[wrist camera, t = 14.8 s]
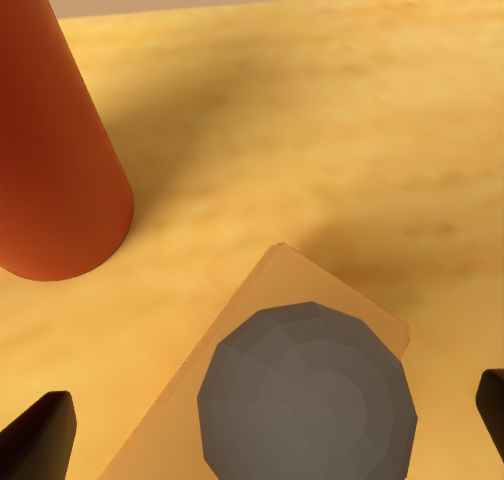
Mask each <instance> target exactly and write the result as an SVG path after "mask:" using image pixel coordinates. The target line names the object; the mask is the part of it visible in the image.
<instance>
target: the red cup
mask: <svg viewBox="0 0 504 480" xmlns="http://www.w3.org/2000/svg"><path fill="white" fill-rule="evenodd" d="M133 207H134V203H133V195H132V191H131V188H130V185H129V183H128V181H127V179H126V176H125V174H124V172H123V169H122V167H121V165H120V163H119V160H118V158H117V156H116V153H115V151H114V149H113V147H112V144H111V142H110V140H109V138H108V135H107V133H106V131H105V128H104V126H103V124H102V122H101V119H100V117H99V115H98V112H97V110H96V108H95V106H94V103H93V101H92V99H91V97H90V94H89V92H88V90H87V87H86V85H85V83H84V81H83V78H82V76H81V74H80V71H79V69H78V67H77V65H76V62H75V60H74V58H73V56H72V53H71V51H70V49H69V46H68V44H67V42H66V40H65V37H64V35H63V33H62V30H61V28H60V26H59V24H58V21H57V19H56V17H55V15H54V12H53V10H52V8H51V5H50V3H49V1H48V0H0V266H1V267H2V268H4V269H6V270H7V271H9V272H11V273H13V274H15V275H17V276H20V277H23V278H25V279H30V280H35V281H58V280H64V279H69V278H72V277H76V276H79V275H81V274H83V273H86V272H88V271H90V270H92V269H93V268H95V267H97V266H98V265H100V264H101V263H102V262H104V261H105V260H106V259H107V258H109V257H110V256H111V255H112V254H113V253H114V252H115V250H116V249H117V248H118V247H119V246H120V244H121V243H122V241H123V240H124V238H125V236H126V234H127V232H128V230H129V227H130V224H131V221H132V217H133Z"/></svg>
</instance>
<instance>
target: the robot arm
mask: <svg viewBox="0 0 504 480" xmlns="http://www.w3.org/2000/svg"><path fill="white" fill-rule="evenodd" d="M476 406H477V409H478V411H479V413H480V415H481V417H482V419H483V421H484V423H485V426H486V428H487V430H488V432H489V434H490V436H491V438H492V440H493V442H494V444H495V446H496V448H497V450H498V452H499V454H500V457H501V459H502V461H503V463H504V369H501V368H500V369H487V370H485V371H484V372H483V374H482V377H481V380H480V383H479V387H478V390H477V393H476ZM76 428H77V420H76V415H75V410H74V406H73V401H72V396H71V394H70V392H68V391H51V392H48V393H46V394H45V395H43V396H42V397H41V398H40V399H39V400H38V401H36V402H35V403H34V404H33V405H32V406H30V407H29V408H28V409H27V410H26V411H25V412H23V413H22V414H21V415H20V416H19V417H17V418H16V419H15V420H14V421H13V422H11V423H10V424H9V425H8V426H7V427H6V428H4V429H3V430H2V431H1V432H0V480H65V476H66V472H67V468H68V464H69V459H70V455H71V451H72V447H73V442H74V438H75V434H76Z"/></svg>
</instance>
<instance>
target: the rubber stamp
mask: <svg viewBox="0 0 504 480" xmlns="http://www.w3.org/2000/svg"><path fill="white" fill-rule="evenodd" d="M409 341H410V336H409V327H408V325H407V324H406V323H404V322H403V321H401V320H400V319H398V318H397V317H395V316H394V315H392V314H391V313H389V312H388V311H386V310H385V309H383V308H382V307H380V306H379V305H377V304H376V303H374V302H373V301H371V300H370V299H368V298H367V297H365V296H364V295H362V294H361V293H359V292H358V291H356V290H355V289H353V288H352V287H350V286H349V285H347V284H346V283H344V282H343V281H341V280H340V279H338V278H337V277H335V276H334V275H332V274H331V273H329V272H328V271H326V270H325V269H323V268H322V267H320V266H319V265H317V264H316V263H314V262H313V261H311V260H310V259H308V258H307V257H305V256H304V255H302V254H301V253H299V252H298V251H296V250H295V249H293V248H292V247H290V246H289V245H287V244H286V243H284V242H283V243H279V244H276V245H272V246H270V247H269V249H268V250H267V251H266V253H265V254H264V255H263V257H262V258H261V259H260V261H259V262H258V263H257V265H256V266H255V267H254V269H253V270H252V271H251V273H250V274H249V276H248V277H247V278H246V280H245V281H244V282H243V284H242V285H241V286H240V288H239V289H238V290H237V292H236V293H235V294H234V296H233V297H232V299H231V300H230V301H229V303H228V304H227V305H226V307H225V308H224V309H223V311H222V312H221V313H220V315H219V316H218V317H217V319H216V320H215V322H214V323H213V324H212V326H211V327H210V328H209V330H208V331H207V332H206V334H205V335H204V336H203V338H202V339H201V340H200V342H199V343H198V344H197V346H196V347H195V349H194V350H193V351H192V353H191V354H190V355H189V357H188V358H187V359H186V361H185V362H184V363H183V365H182V366H181V367H180V369H179V370H178V372H177V373H176V374H175V376H174V377H173V378H172V380H171V381H170V382H169V384H168V385H167V386H166V388H165V389H164V390H163V392H162V393H161V395H160V396H159V397H158V399H157V400H156V401H155V403H154V404H153V405H152V407H151V408H150V409H149V411H148V412H147V413H146V415H145V416H144V417H143V419H142V420H141V422H140V423H139V424H138V426H137V427H136V428H135V430H134V431H133V432H132V434H131V435H130V436H129V438H128V439H127V440H126V442H125V443H124V445H123V446H122V447H121V449H120V450H119V451H118V453H117V454H116V455H115V457H114V458H113V459H112V461H111V462H110V463H109V465H108V466H107V468H106V469H105V470H104V472H103V473H102V474H101V476H100V477H99V478H98V480H404V479H405V478H406V477H407V472H408V467H409V462H410V456H411V451H412V446H413V440H414V435H415V430H416V424H417V419H418V418H417V414H416V411H415V408H414V404H413V401H412V397H411V394H410V391H409V387H408V384H407V380H406V377H405V374H404V370H403V367H402V363H401V362H400V361H399V360H400V359H401V357H402V355H403V353H404V351H405V349H406V347H407V345H408V343H409Z"/></svg>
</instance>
